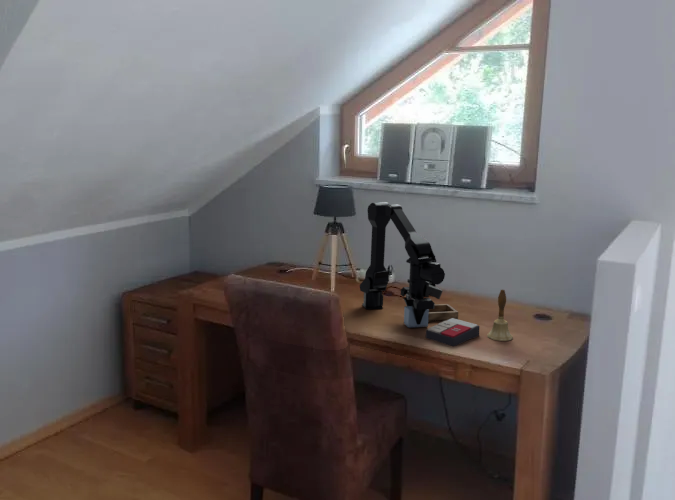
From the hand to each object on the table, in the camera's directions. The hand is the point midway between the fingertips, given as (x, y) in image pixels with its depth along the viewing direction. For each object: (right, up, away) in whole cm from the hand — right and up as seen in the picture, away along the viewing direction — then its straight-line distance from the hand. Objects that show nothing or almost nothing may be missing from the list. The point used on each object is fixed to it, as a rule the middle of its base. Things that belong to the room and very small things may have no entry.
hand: (415, 321), depth 227 cm
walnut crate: (+9, +1, +11) cm, 14 cm away
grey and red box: (+11, -4, -10) cm, 15 cm away
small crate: (0, -1, 0) cm, 1 cm away
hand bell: (+27, -4, -9) cm, 28 cm away
